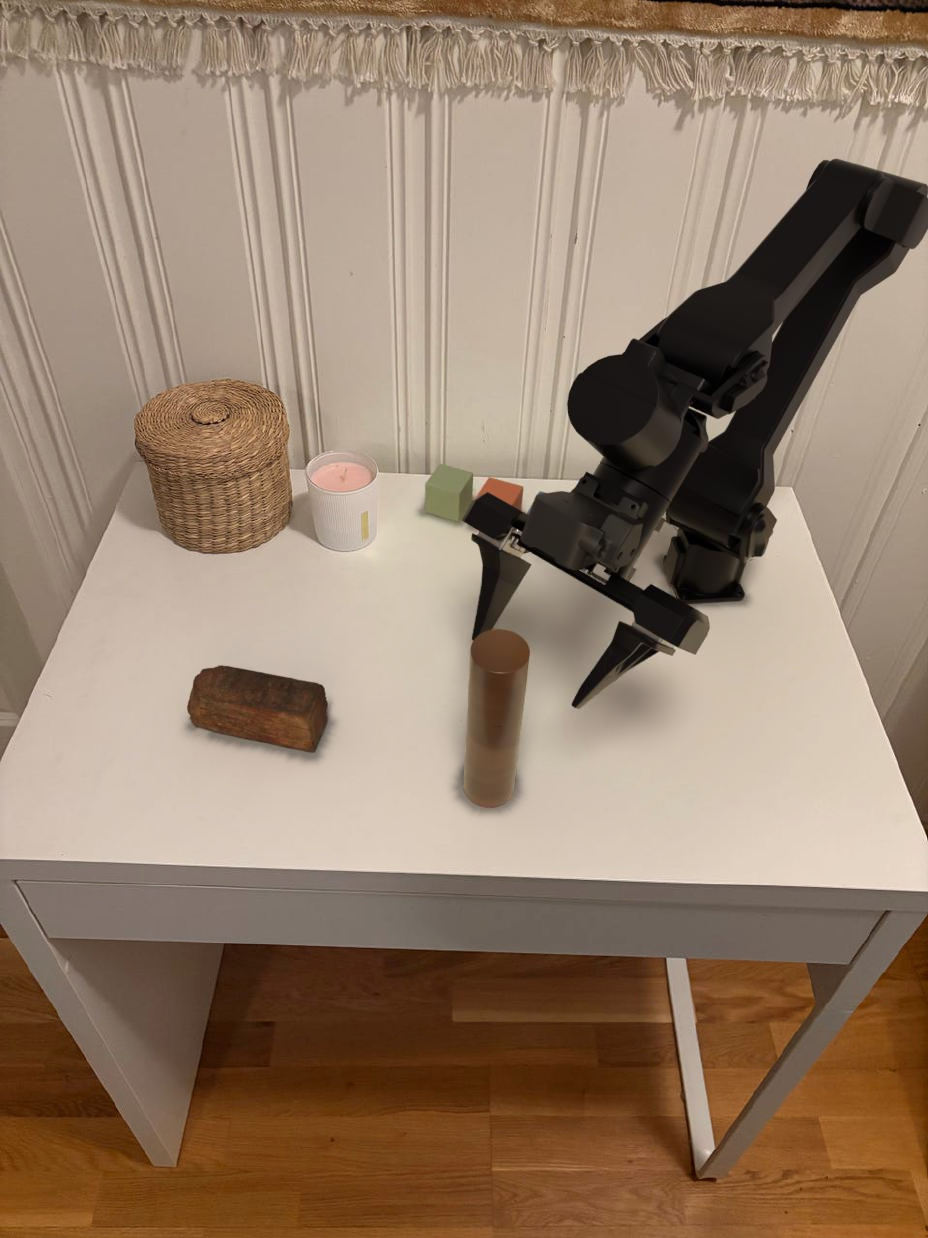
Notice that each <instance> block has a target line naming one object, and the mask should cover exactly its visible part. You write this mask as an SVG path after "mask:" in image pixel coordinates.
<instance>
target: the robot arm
mask: <svg viewBox="0 0 928 1238" xmlns="http://www.w3.org/2000/svg"><path fill="white" fill-rule="evenodd" d="M927 232H928V184H927V183H924V182H920V181H917V180H913V179H910V178H907V177H903V176H900V175H896V174H893V173H889V172H886V171H882V170H879V169H875V168H872V167H868V166H865V165H862V164H859V163H854V162H852V161H851V162H850V161H847V160H844V159H840V158H833V159H831V160H829V159H823V160H822V161H820V163H818V165H817V166H816V168H815V169H814V170H813V172H812V174H811V177H810V178H809V180H808V183H807V185H806V188H805V191H804V192H803V193H802V194H801V196H799V197H798V199H797V200H796V201H795V202H794V203H793V204H792V206H791V207H790V208H789V209H788V210H787V211H786V213H785V214H784V215H783V216H782V217H781V219H780V220H779V221H778V222H777V223H776V225H775V226H774V227H772V229H770V232H768V234H766V236H765V237H764V239H762V240H761V242H760V243H759V244H758V245H757V246H756V248H755V249H754V250H753V251H752V252H751V253H750V254H749V255H748V257H747V258H746V259H745V260H744V262H743V263H742V264H741V265H740V266H739V267H738V268H737V270H736V271H735V272H734V273H733V274H732V275H731V276H730V277H729V278H727V280H725V281H723V282H720V283H716V284H713V285H710V286H707V287H703V288H700V289H697V290H695V291H694V292H692V294H690V295H689V296H688V297H687V298H685V300H684V301H682V303H680V304H679V305H678V306H677V307H676V308H675V309H674V310H672V312H671V313H670V314H669V315H667V316H666V317H665V318H663V319H662V320H660V321H659V322H658V323H657V324H655V325H654V326H653V327H652V328H651V329H650V330H648V331H647V332H646V333H645V334H644V335H642V336H641V337H640V338H639V339H638V338H635V337H634V338H632V339H631V340H629V343H628V345H627V347H626V348H625V350H624V351H623V352H622V353H619V354H612V355H611V354H610V355H606V356H604V357H602V358H599V359H597V360H596V361H594V362H593V363H591V364H590V365H588V366H586V368H585V369H583V371H582V372H579V373H578V374H577V375H576V377H575V378H574V380H573V382H572V384H571V387H570V389H569V391H568V395H567V402H566V407H567V409H566V410H567V416H568V419H569V422H570V425H571V426H572V427H573V429H574V430H575V432H576V433H577V434H578V435H579V436H580V437H581V438H582V439H583V440H585V441H586V442H587V443H588V444H589V445H590V446H591V447H592V448H593V449H595V451H597V452H598V453H599V454H600V455H601V456H602V458H601V459H600V461H599V463H598V464H597V467H596V468H595V470H594V472H593V473H591V472H588V471H585V473H584V474H583V476H581V477H580V478H579V480H578V481H577V483H576V485H575V487H574V488H572V490H570V491H565V490H558V491H552V492H545V493H543V494H538V493H537V494H536V495H535V497H534V500H533V501H532V503H533V505H532V504H531V505H532V507H531V506H530V507H531V510H530V513H529V515H528V514H527V512H524V511H522V509H521V510H519V509H517V508H515V507H514V506H512V505H510V504H508V503H506V502H505V501H503V500H501V499H499V498H497V497H496V496H494V495H492V494H490V493H489V492H487V493H485V494H483V495H481V496H479V497H478V498H476V497H475V498H476V499H472V502H471V504H470V505H469V507H468V508H467V510H466V511H465V513H464V514H463V516H462V518H461V521H462V522H463V523H465V524H466V525H468V526H470V527H472V528H473V529H475V530H477V531H478V533H477V534H475V533H473V532H472V533H471V538H470V539H471V541H472V542H473V543H475V544H476V545H477V546H478V549H479V554H480V557H481V563H482V567H481V568H482V570H481V583H480V588H479V589H480V591H479V596H478V602H477V607H476V611H475V618H474V623H473V629H472V633H471V640H472V642H473V641H474V639H475V638H476V637H477V636H478V635H480V634H482V633H483V632H486V631H489V630H494V628H495V626H496V624H497V622H498V621H499V619H500V618H501V616H502V614H503V613H504V611H505V609H506V608H507V606H508V604H509V603H510V601H511V600H512V597H513V596H514V594H515V593H516V591H517V589H518V588H519V586H520V585H521V583H522V581H523V580H524V578H525V576H526V575H527V573H528V571H529V570H530V568H531V567H532V563H530V562H528V561H527V560H525V559H523V558H522V556H523V555H524V554H525V555H526V554H527V553H530V554H533V555H534V556H536V557H538V558H539V559H541V560H542V561H544V562H546V563H548V564H549V565H551V566H553V567H554V568H556V569H558V570H559V571H561V572H562V573H565V574H567V575H568V576H570V577H572V578H573V579H574V580H575V579H576V580H577V581H578V582H580V583H582V584H584V585H585V586H587V587H589V588H591V589H592V590H594V591H596V592H597V593H599V594H601V595H602V596H604V597H606V598H607V599H609V600H611V601H613V602H614V603H616V604H618V605H620V606H622V608H625V609H626V610H628V611H630V612H631V613H632V614H633V618H634V620H633V622H632V624H629V623H626V622H624V621H621V620H619V621H618V622H617V625H616V628H615V631H614V633H613V637H612V638H611V641H610V643H609V645H608V646H607V648H606V649H605V650H604V652H602V655H601V656H600V658H599V659H598V661H596V663H595V665H594V666H593V667H592V669H591V671H590V672H589V674H587V676H586V678H585V679H584V681H583V682H582V683H581V685H580V687H579V688H578V690H577V692H576V693H575V696H574V698H573V700H572V701H571V707H573V709H577V710H579V709H581V708H583V707H584V706H585V705H587V704H588V703H589V702H590V701H591V700H593V699H594V698H595V697H597V696H598V695H599V694H600V693H602V692H603V691H604V690H606V689H607V688H608V687H610V686H611V685H612V684H613V683H614V682H616V681H617V680H618V679H619V678H621V677H622V676H624V675H625V674H626V673H627V672H629V671H630V670H632V669H634V668H635V667H637V666H639V665H640V664H642V663H643V662H645V661H647V660H648V659H650V658H652V657H653V656H655V655H657V654H658V653H663V654H665V655H668V656H671V657H673V656H674V655H675V654H676V651H677V649H680V650H682V651H684V652H686V653H689V654H693V655H697V653H698V651H699V650H700V648H701V646H702V645H703V643H704V642H705V640H706V638H708V635H709V632H710V628H711V626H710V625H711V624H710V620H709V616H708V615H706V614H704V613H703V612H701V610H699V609H697V608H695V607H693V606H691V605H689V604H698V603H716V602H717V603H718V602H734V601H742V600H744V599H745V596H746V593H745V590H744V588H743V586H742V584H741V580H742V577H743V574H744V571H745V569H746V566H747V562H748V561H749V559H751V558H762V557H763V556H764V554H765V553H766V551H767V548H768V545H769V541H770V538H771V537H772V536H773V534H774V529H775V526H776V524H777V522H778V518H776V516H775V515H774V513H773V511H771V509H770V508H769V507H768V505H769V503H770V501H771V499H772V497H773V495H774V493H775V491H776V490H775V489H776V485H775V483H776V482H775V464H774V463H775V461H774V455H775V453H776V451H777V449H778V447H779V445H780V443H781V442H782V440H783V438H784V437H785V434H786V433H787V430H788V429H789V427H790V425H791V423H792V421H793V419H794V417H795V416H796V414H797V412H798V411H799V409H800V407H801V405H802V404H803V401H804V400H805V397H806V396H807V394H808V392H809V390H810V389H811V387H812V386H813V383H814V381H815V379H816V378H817V376H818V374H819V372H820V371H821V368H822V367H823V365H824V363H825V361H826V359H827V358H828V355H829V354H830V352H831V350H832V349H833V347H834V345H835V343H836V341H837V340H838V338H839V336H840V334H841V332H842V330H843V328H844V327H845V324H846V323H847V321H848V320H849V317H850V315H851V314H852V312H853V310H854V308H855V307H856V304H858V301H859V299H860V298H861V296H862V295H864V294H866V293H867V292H868V291H870V290H871V289H872V288H874V287H876V286H877V285H879V284H881V283H882V282H883V281H885V280H887V279H888V278H890V277H891V276H893V275H894V274H896V272H897V271H898V269H899V268H900V266H901V264H902V262H903V261H904V259H905V257H907V254H908V253H909V251H910V250H915V249H916V248H917V247H918V246H919V245H920V244H921V242H922V240H923V239H924V237H925V235H926V233H927ZM776 331H777V332H776ZM775 333H776V334H775ZM774 334H775V336H774ZM773 336H774V337H773ZM731 414H733V415H732V416H731V418H730V420H729V423H728V425H727V426H726V427H725V430H724V431H722V432H721V433H720V434H718V435H716V436H715V437H714V438H711V439H709V433H708V432H707V420H708V416H709V417H712V418H713V419H717V420H720V419H721V418H723V417H725V416H727V415H731ZM664 515H665V518H664V517H663V516H664ZM665 523H666V524H667V525H670V526H671V525H672V526H674V527H676V528H677V533H676V535H675V536H674V535H672V537H671V538H670V541H669V544H668V549H667V552H666V554H665V555H664V556H663V558H662V562H663V570H664V571H665V575H666V577H667V580H668V583H669V585H670V586H671V587H672V588H673V590H674V593H675V596H676V597H675V596H674V595H672V594H670V593H668V592H667V591H665V590H663V589H661V588H659V587H658V586H656V585H654V584H652V583H650V584H648V585H647V586H646V588H644V589H643V588H642V587H640V586H638V585H636V584H634V583H633V582H631V580H632V579H633V577H634V576H635V574H636V572H637V569H636V568H635V567H634V566H635V564H636V562H637V561H638V559H639V558H640V556H641V554H642V552H643V551H644V549H645V547H646V545H647V544H648V542H649V541H650V538H651V537H652V535H653V533H654V532H657V533H660V531H661V530H662V528H663V526H664V524H665ZM598 565H599V566H601V567H603V568H604V569H603V573H604V574H606V575H608V576H609V577H608V579H606V578H604V577H602V576H601V575H599V574H598V573H595V572H594V571H595V569H596V568H597V566H598ZM674 647H675V648H677V649H675V648H674Z"/></svg>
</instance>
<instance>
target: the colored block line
mask: <svg viewBox="0 0 928 1238" xmlns="http://www.w3.org/2000/svg"><path fill="white" fill-rule="evenodd" d="M473 486H474V472H472V471H469V470H465V469H461V468H459V467H453V466H451V465H446V464H442V463H439V464H438V466H436V468H435V469H434V471H433V472H432V474H431V475H430V477H429V478H428V480H427V481H426V482H425V483H424V490H425V491H424V503H425V504H424V506H425V507H424V508H425V509H424V513H426V514H430V515H433V516H436V517H439V518H442V519H446V520H450V521H452V522H455V523H456V522H457V523H459V522H460V520H462V518H463V517H464V515H465V513H466V511H467V510H468V508H469V506H470V504H471V502H472V501H473V489H474V488H473ZM487 492H489V493H490V494H492V495H494V496H496V497H497V498H499V499H501V500H503V501H505V502H506V503H508V504H510V505H512V506H514V507H515V508H517V509H519V510H521V511H522V508H523V498H524V497H523V496H524V486H523V485H520V484H516V483H512V482H509V481H505V480H502V479H497V478H494V477H490V476H489V477H488V478H487V480H486V481H485V482H484V484H483V485H482V487H481V489H480V490H479V492H478V493H477V495H476V496H475V499H476V498H478V497H479V496H481V495H483V494H485V493H487ZM543 493H546V492H545V491H541V490H540V491H538V493H537V494H543ZM475 499H474V500H475ZM532 505H533V502H532V503H531V505H530V507H529V509H528V510H527V512H526V514H528V515H529V513H530V510H531V507H532Z"/></svg>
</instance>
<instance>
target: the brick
mask: <svg viewBox="0 0 928 1238" xmlns="http://www.w3.org/2000/svg"><path fill="white" fill-rule="evenodd" d="M326 694H327V693H326V689H325V687H324V685H323V684H320V683H318V682H314V681H308V680H302V679H297V678H294V677H288V676H281V675H277V674H271V673H267V672H261V671H257V670H250V669H246V668H241V667H235V666H230V665H217V666H214V667H207V668H206V667H205V668H202V669H201V670H200V671H199V673H198V674H196V675H195V676H194V678H193V682H192V688H191V690H190V694H189V699H188V701H187V706H186V710H187V713H188V715H189V720H190V722H191V723H192V724H193V725H194V726H197V727H200V728H204V729H207V730H210V731H212V732H216V733H219V734H224V735H229V736H233V737H237V738H241V739H246V740H247V739H248V740H251V741H252V740H253V741H257V742H260V743H268V744H271V745H274V746H278V747H283V748H288V749H295V750H299V751H303V752H314V751H315V750H316V748H317V745H318V744H319V741H320V739H321V736H322V734H323V732H324V729H325V728H326V725H327V720H328V706H329V703H328V701H327V696H326Z"/></svg>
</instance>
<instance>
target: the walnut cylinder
mask: <svg viewBox="0 0 928 1238" xmlns="http://www.w3.org/2000/svg"><path fill="white" fill-rule="evenodd" d="M469 649H470V650H469V666H468V669H469V670H468V689H467V707H466V708H467V710H466V726H465V728H466V729H465V744H464V745H465V749H464V750H465V751H464V768H463V792H464V793H465V796H467V798H468V800H470V802H472V803H473V804H475V805H477V806H480V807H481V808H490V809H491V808H497V807H500V806H502V805H505V804H506V803H507V802H508V801H510V799H511V798H512V796H513V795H514V791H515V783H516V775H517V766H518V758H519V750H520V741H521V732H522V724H523V718H524V709H525V700H526V692H527V683H528V675H529V667H530V658H531V649H530V646H529V643H528V642H527V641H526V639H524V637H523V636H521V635H520V634H518V633H517V632H514V631H512V630H509V629H502V628H495V629H494V628H493V629H492V630H489V631H486V632H483V633H482V634H480V635H478V636H477V637H476V638H475V639H474V641H473V640H472V643H471V644H470V648H469Z"/></svg>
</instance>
